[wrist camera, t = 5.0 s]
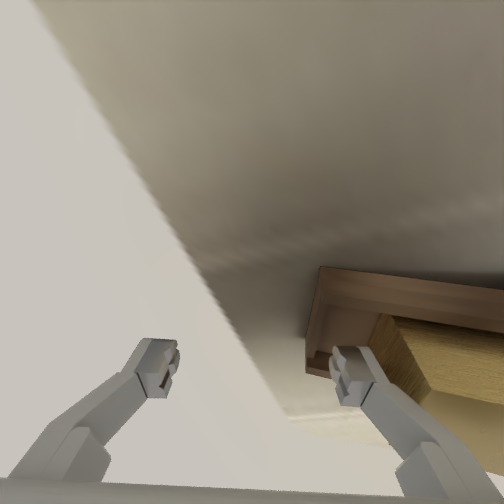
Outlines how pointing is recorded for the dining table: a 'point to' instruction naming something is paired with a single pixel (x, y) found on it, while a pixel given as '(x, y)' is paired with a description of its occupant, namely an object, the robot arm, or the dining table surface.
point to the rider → (449, 378)
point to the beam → (388, 309)
